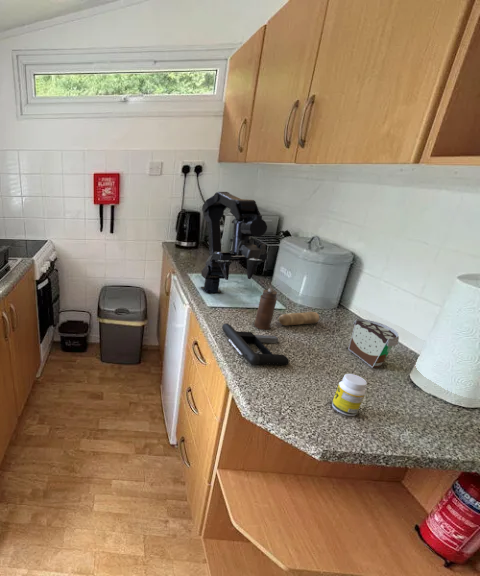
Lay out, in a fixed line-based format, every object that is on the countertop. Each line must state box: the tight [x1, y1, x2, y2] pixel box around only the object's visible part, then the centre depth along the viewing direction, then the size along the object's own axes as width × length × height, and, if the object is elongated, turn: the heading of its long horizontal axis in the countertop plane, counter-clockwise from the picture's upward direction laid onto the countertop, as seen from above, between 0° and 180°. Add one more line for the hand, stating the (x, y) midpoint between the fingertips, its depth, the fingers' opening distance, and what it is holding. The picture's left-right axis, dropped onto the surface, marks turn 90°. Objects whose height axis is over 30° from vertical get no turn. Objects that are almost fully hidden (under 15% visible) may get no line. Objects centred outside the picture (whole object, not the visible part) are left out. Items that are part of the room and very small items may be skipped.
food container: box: [347, 318, 400, 369], centre depth 89 cm, size 12×6×10 cm, turn 179°
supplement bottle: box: [331, 373, 368, 417], centre depth 70 cm, size 5×5×8 cm
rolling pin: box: [278, 311, 320, 327], centre depth 109 cm, size 15×4×4 cm, turn 100°
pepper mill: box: [253, 287, 278, 331], centre depth 105 cm, size 5×5×14 cm
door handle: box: [221, 322, 290, 366], centre depth 95 cm, size 3×20×16 cm
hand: (237, 279), depth 114 cm, fingers open, 9 cm apart
